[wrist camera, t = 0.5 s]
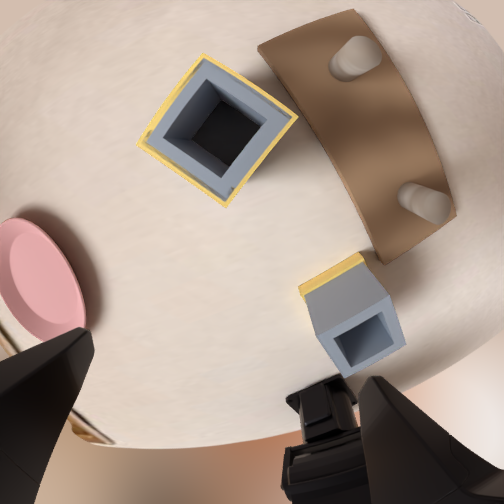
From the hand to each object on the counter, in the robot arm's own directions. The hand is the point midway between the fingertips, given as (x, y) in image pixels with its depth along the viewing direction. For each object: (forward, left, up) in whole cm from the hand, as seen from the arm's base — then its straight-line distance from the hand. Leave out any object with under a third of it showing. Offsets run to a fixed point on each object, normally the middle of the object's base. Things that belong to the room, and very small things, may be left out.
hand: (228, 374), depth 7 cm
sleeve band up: (+6, -3, -13) cm, 15 cm away
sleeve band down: (-8, -4, -13) cm, 16 cm away
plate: (+8, +20, -13) cm, 25 cm away
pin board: (+2, -12, -13) cm, 18 cm away
